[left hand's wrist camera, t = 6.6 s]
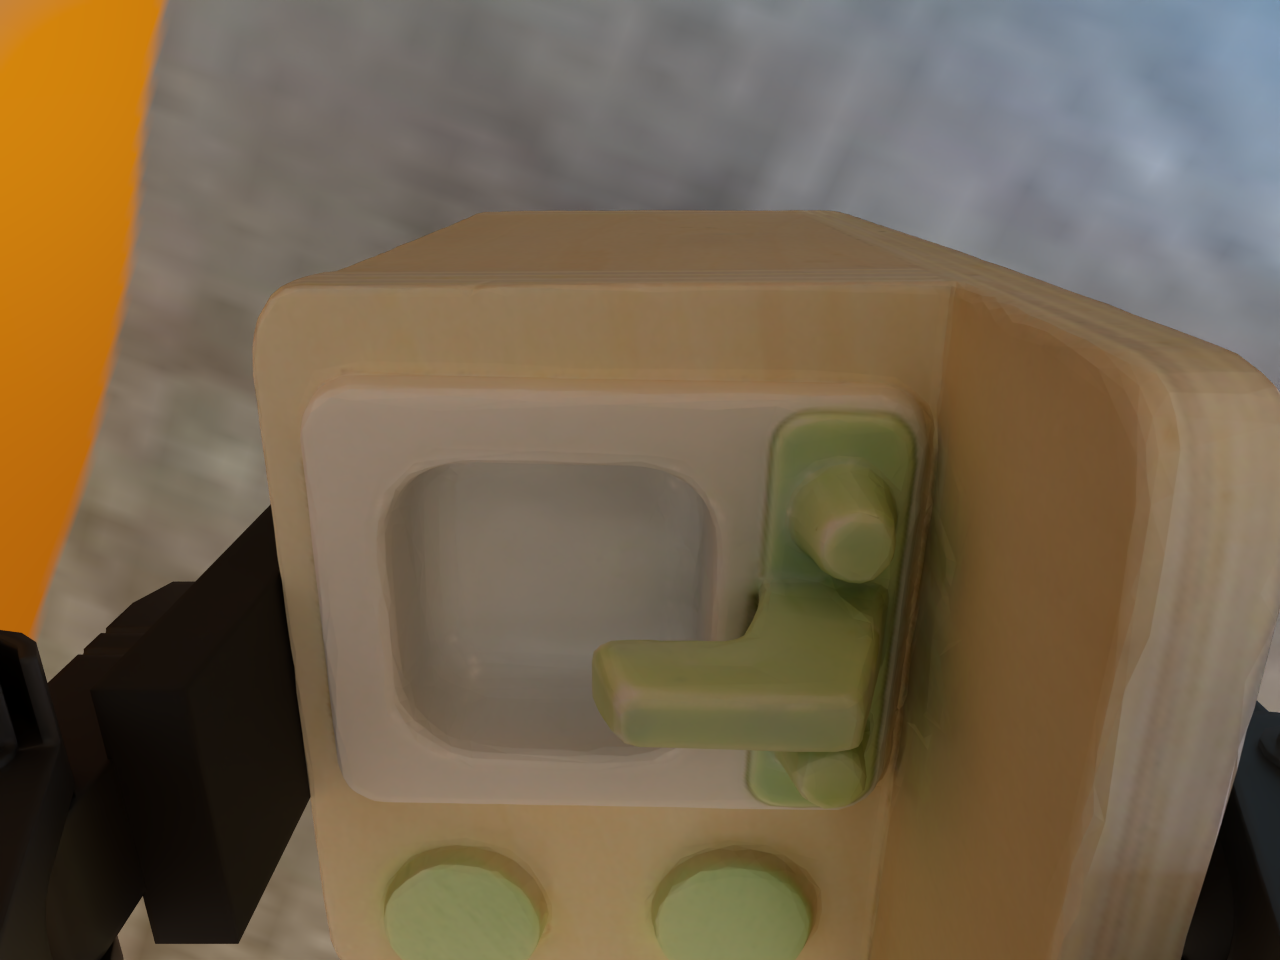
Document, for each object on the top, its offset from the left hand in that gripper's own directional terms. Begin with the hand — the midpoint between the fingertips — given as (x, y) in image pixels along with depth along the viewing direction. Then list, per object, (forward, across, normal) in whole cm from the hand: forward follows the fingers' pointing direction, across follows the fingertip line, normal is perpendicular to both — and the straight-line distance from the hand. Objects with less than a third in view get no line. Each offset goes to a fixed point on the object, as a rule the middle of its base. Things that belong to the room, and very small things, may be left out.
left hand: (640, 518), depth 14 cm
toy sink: (+5, 0, 0) cm, 5 cm away
